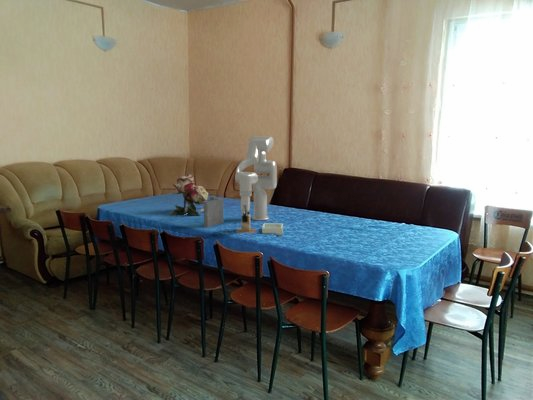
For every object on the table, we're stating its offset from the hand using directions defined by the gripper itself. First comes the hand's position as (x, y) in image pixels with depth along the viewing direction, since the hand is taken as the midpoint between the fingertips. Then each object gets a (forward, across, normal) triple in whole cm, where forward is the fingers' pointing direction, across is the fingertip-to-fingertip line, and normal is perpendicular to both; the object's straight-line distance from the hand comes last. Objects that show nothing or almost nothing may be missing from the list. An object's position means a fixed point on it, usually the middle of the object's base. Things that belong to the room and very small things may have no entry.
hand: (246, 220), depth 275 cm
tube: (+7, 0, 0) cm, 7 cm away
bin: (+8, 0, +17) cm, 19 cm away
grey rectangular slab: (+8, -19, -25) cm, 33 cm away
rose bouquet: (+8, -60, -51) cm, 79 cm away
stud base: (+8, 0, 0) cm, 8 cm away
